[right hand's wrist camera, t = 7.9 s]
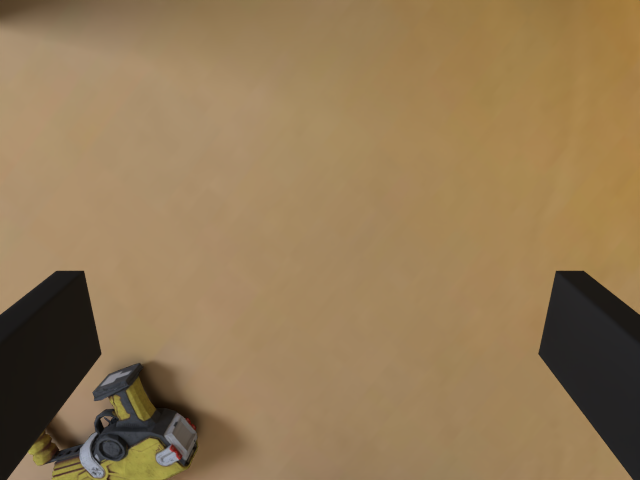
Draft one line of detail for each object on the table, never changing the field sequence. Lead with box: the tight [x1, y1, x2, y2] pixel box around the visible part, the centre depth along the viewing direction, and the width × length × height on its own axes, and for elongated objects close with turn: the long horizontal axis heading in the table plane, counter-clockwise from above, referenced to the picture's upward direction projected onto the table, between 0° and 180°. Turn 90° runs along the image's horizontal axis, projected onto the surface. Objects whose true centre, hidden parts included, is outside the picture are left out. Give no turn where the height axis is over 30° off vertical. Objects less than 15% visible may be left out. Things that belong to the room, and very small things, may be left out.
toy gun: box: [28, 363, 198, 480], centre depth 48 cm, size 5×24×15 cm
